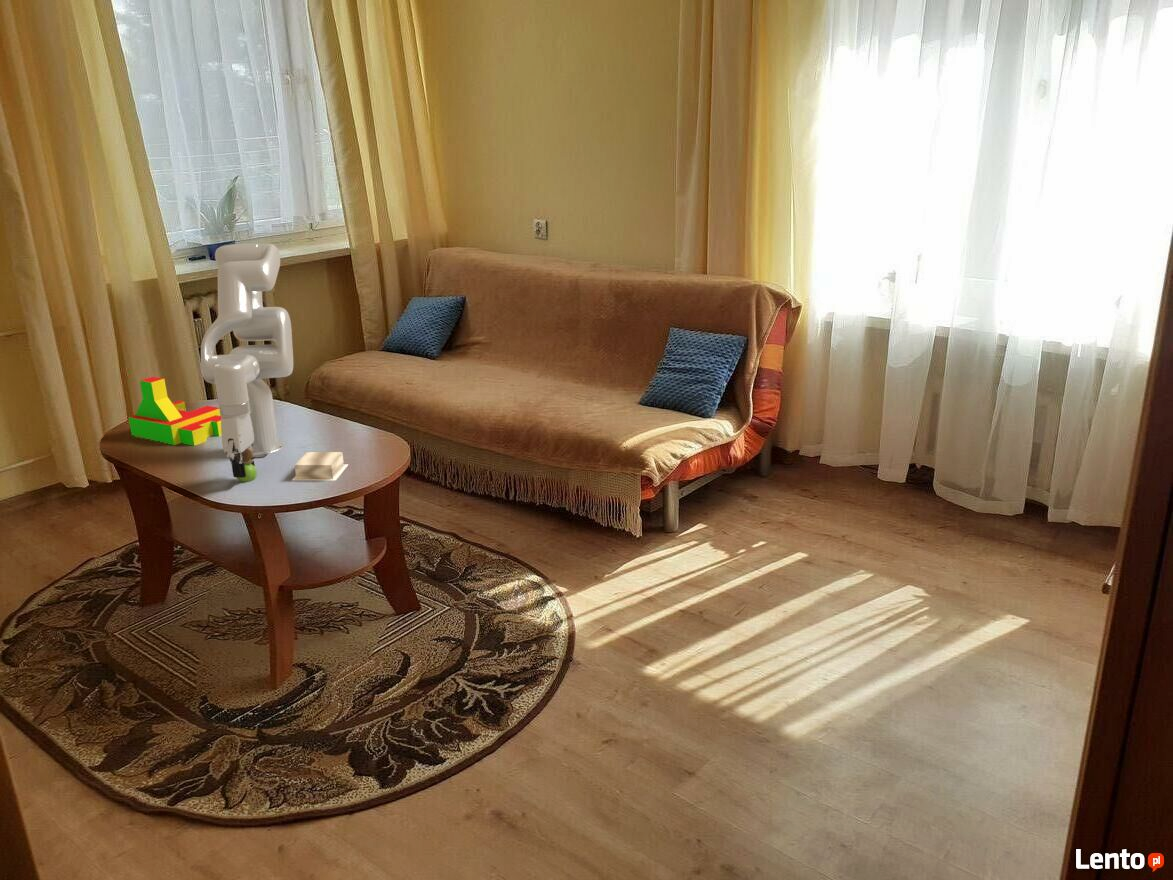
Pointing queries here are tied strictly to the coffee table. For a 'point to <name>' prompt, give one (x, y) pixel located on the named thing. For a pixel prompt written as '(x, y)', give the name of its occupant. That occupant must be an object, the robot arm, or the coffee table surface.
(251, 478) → the snail figurine
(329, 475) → the pedestal block
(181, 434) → the building blocks toy
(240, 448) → the robot arm
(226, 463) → the coffee table surface
